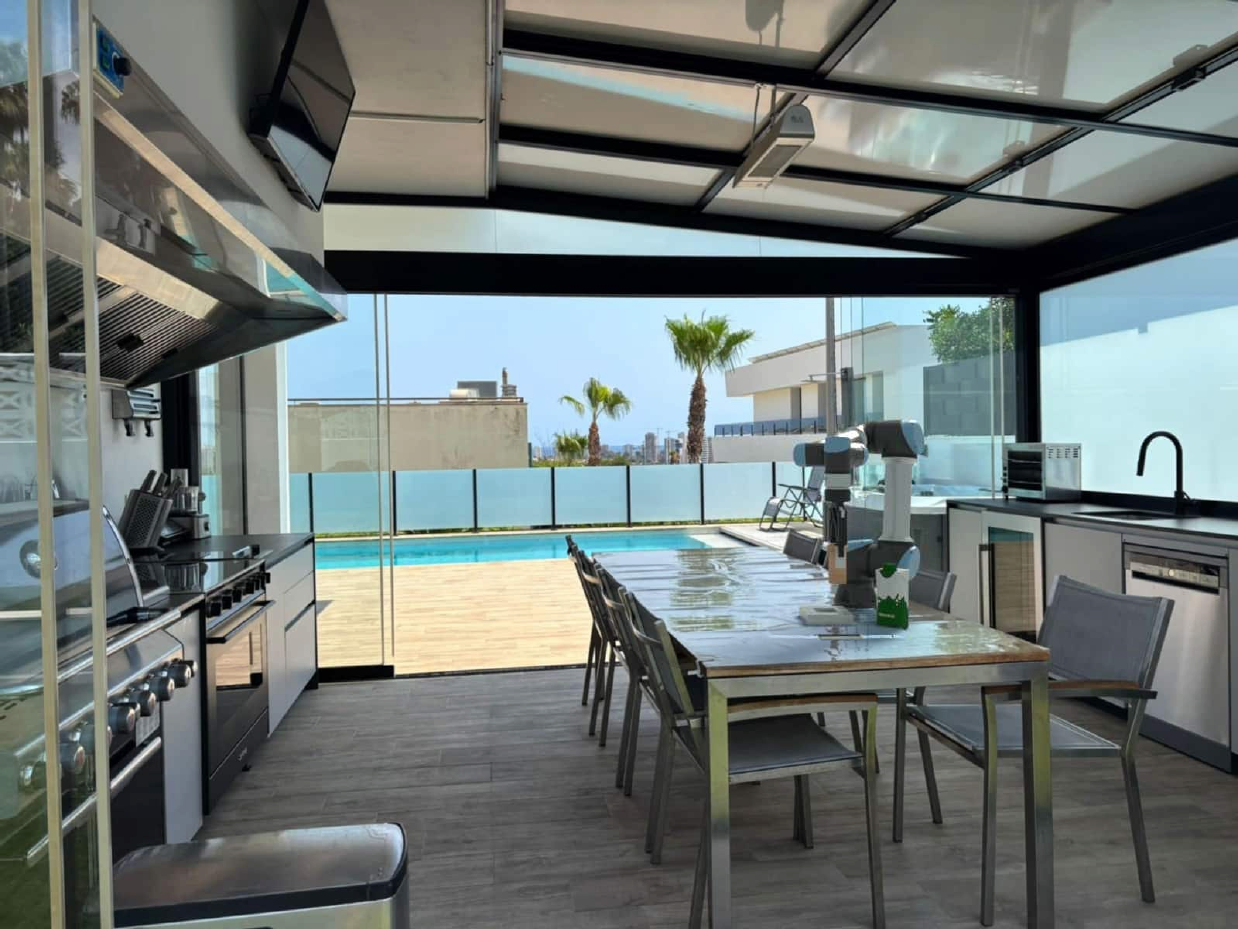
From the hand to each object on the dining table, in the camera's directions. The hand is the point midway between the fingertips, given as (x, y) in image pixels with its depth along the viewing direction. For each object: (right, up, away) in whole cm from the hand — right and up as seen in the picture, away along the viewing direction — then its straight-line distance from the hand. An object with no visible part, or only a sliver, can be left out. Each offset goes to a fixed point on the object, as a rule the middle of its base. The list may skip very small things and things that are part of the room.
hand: (837, 566), depth 246 cm
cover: (0, -5, 0) cm, 5 cm away
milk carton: (+20, -20, +10) cm, 30 cm away
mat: (0, -20, 0) cm, 20 cm away
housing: (+1, -20, +17) cm, 27 cm away
